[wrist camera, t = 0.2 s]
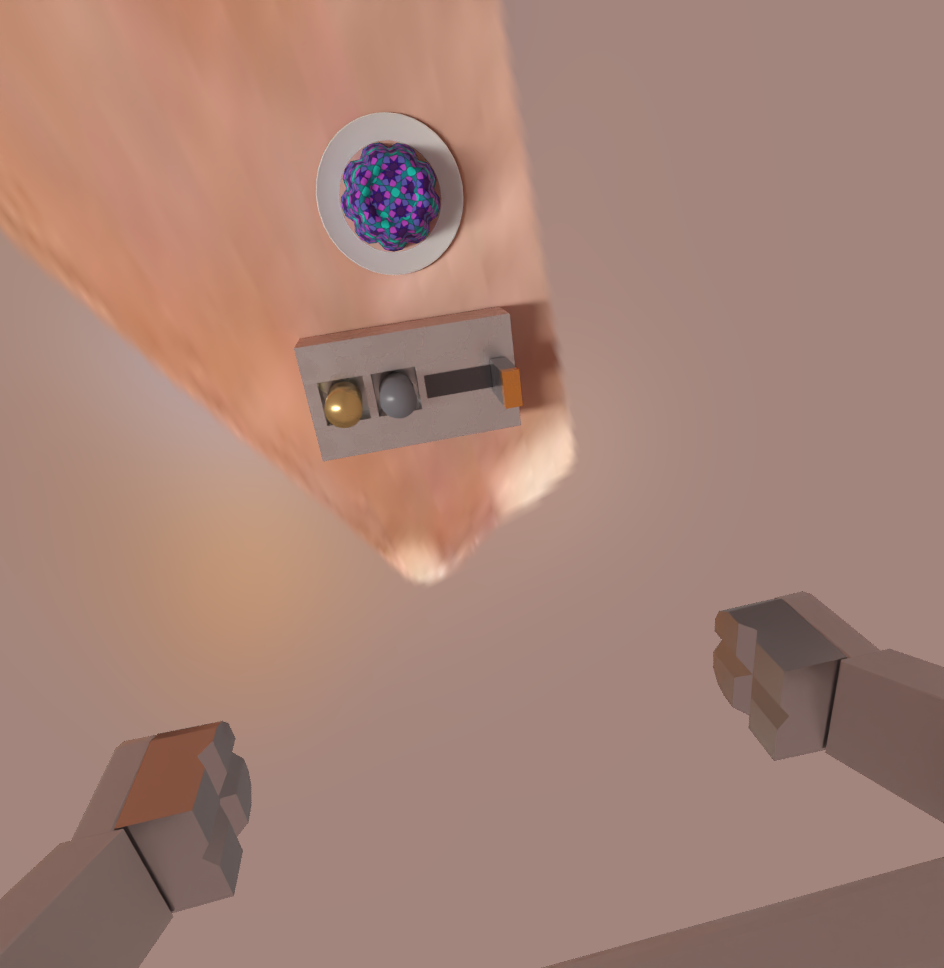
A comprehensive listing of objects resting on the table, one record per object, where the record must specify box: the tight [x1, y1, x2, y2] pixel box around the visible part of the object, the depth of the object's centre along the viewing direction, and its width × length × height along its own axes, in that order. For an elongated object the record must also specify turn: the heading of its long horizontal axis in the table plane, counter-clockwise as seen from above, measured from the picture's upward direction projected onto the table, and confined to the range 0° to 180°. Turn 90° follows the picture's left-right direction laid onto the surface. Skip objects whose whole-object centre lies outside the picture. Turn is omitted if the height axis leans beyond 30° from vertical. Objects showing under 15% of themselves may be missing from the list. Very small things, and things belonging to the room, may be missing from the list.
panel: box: [294, 307, 521, 461], centre depth 53 cm, size 10×18×5 cm, turn 98°
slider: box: [490, 357, 523, 409], centre depth 49 cm, size 3×1×5 cm, turn 8°
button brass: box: [325, 382, 362, 428], centre depth 49 cm, size 3×3×4 cm
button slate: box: [379, 373, 417, 418], centre depth 50 cm, size 3×3×4 cm
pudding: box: [316, 112, 464, 275], centre depth 47 cm, size 12×12×5 cm
